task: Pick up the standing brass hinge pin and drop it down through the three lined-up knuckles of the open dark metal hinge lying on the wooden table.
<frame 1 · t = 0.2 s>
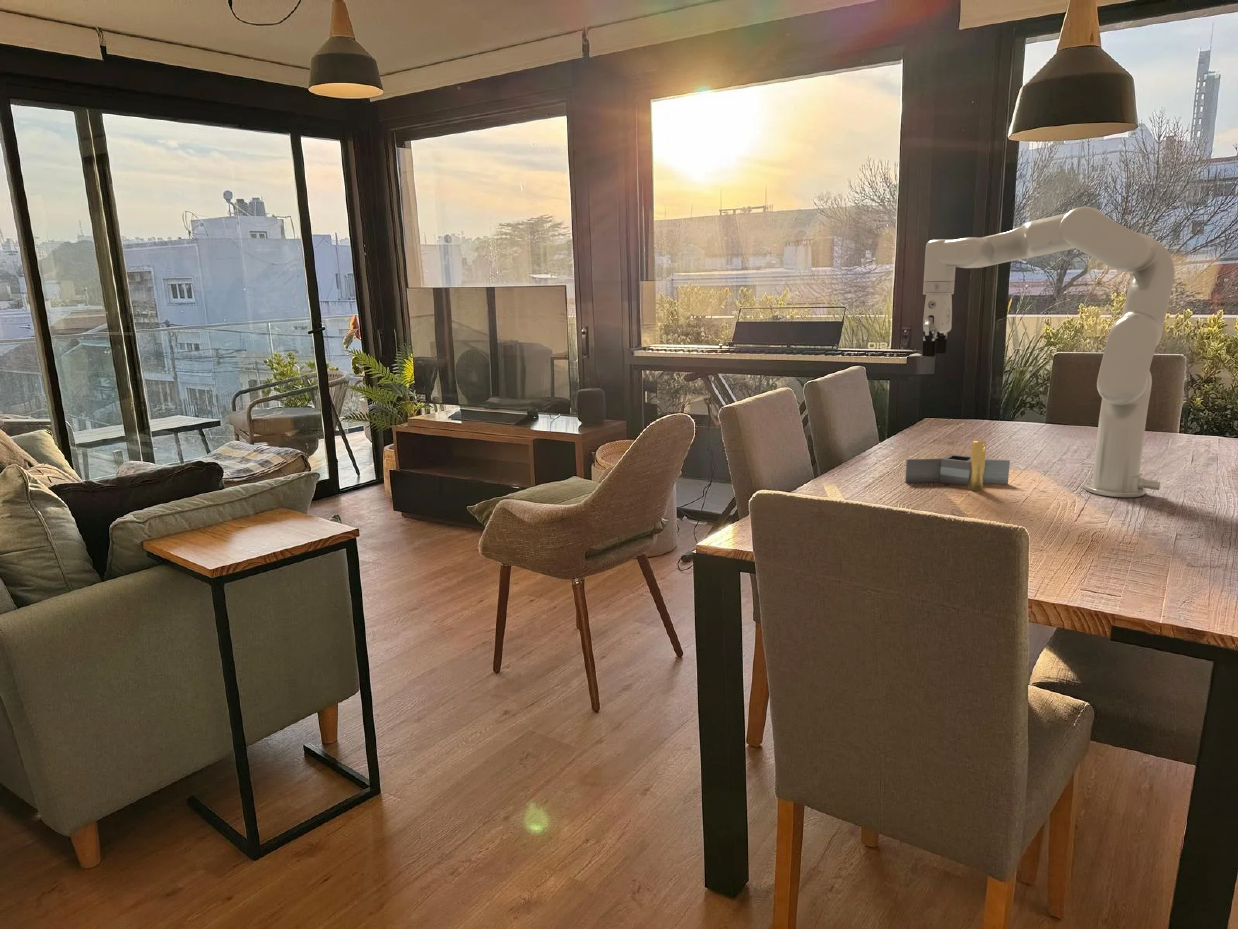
hand: (934, 354, 222), 31 cm above the table, tool pointing down, fingers open, 9 cm apart
hinge pin: (975, 489, 205), on the table
hinge: (958, 481, 214), on the table
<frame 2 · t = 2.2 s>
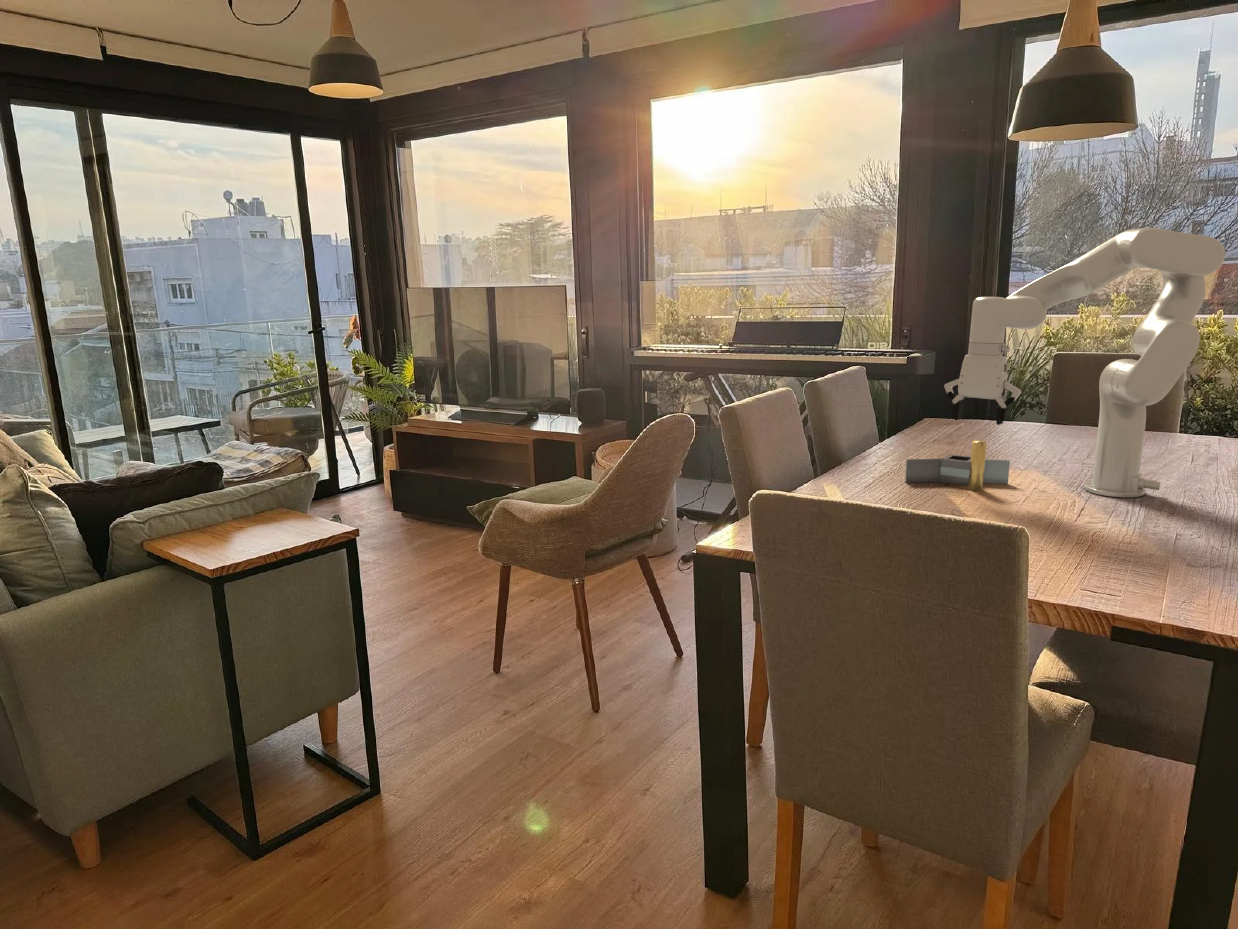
hand: (978, 421, 202), 17 cm above the table, tool pointing down, fingers open, 9 cm apart
nothing on the table moved.
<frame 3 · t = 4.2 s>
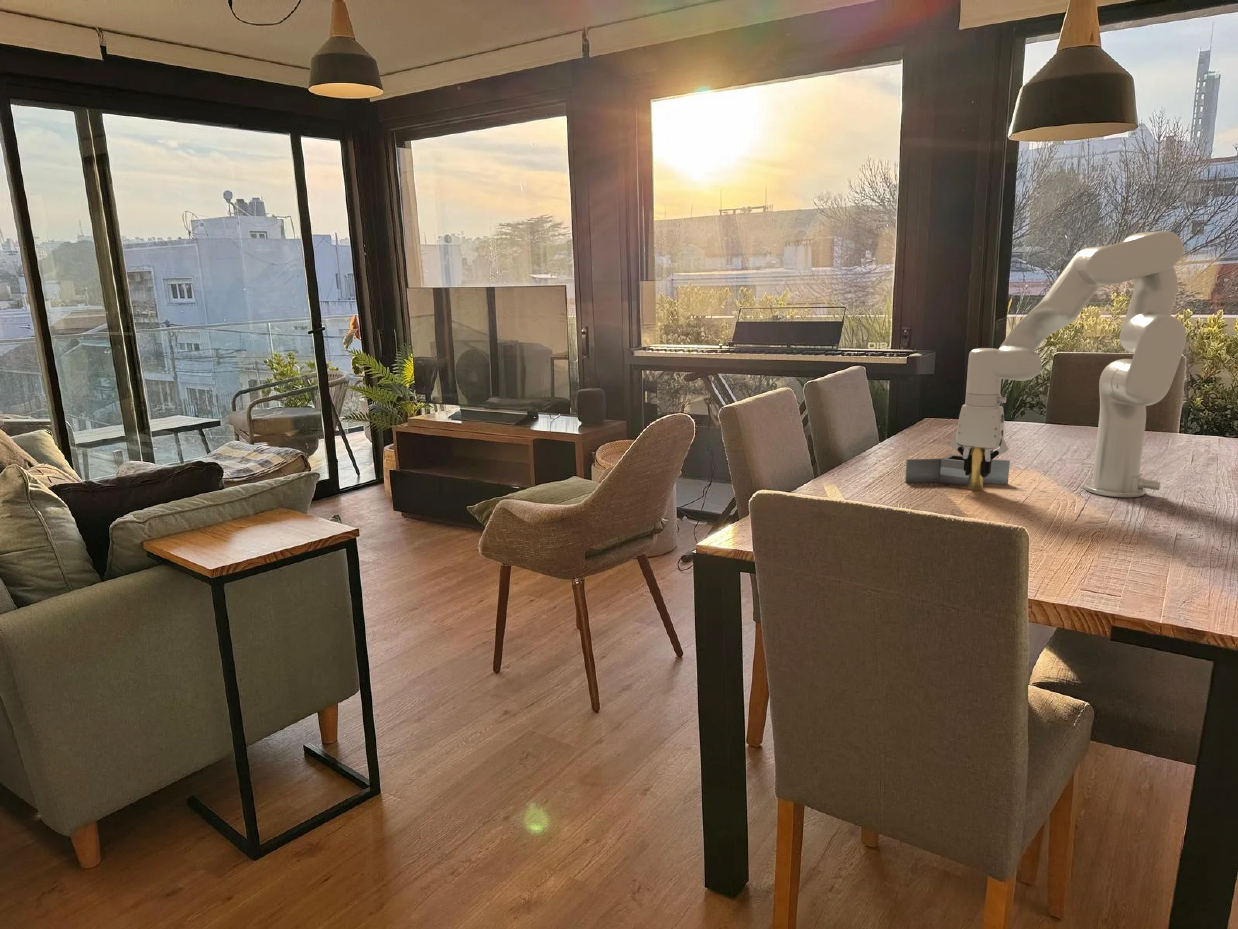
hand: (976, 474, 204), 4 cm above the table, tool pointing down, fingers closed on hinge pin, 3 cm apart
hinge pin: (975, 489, 205), on the table, touching gripper
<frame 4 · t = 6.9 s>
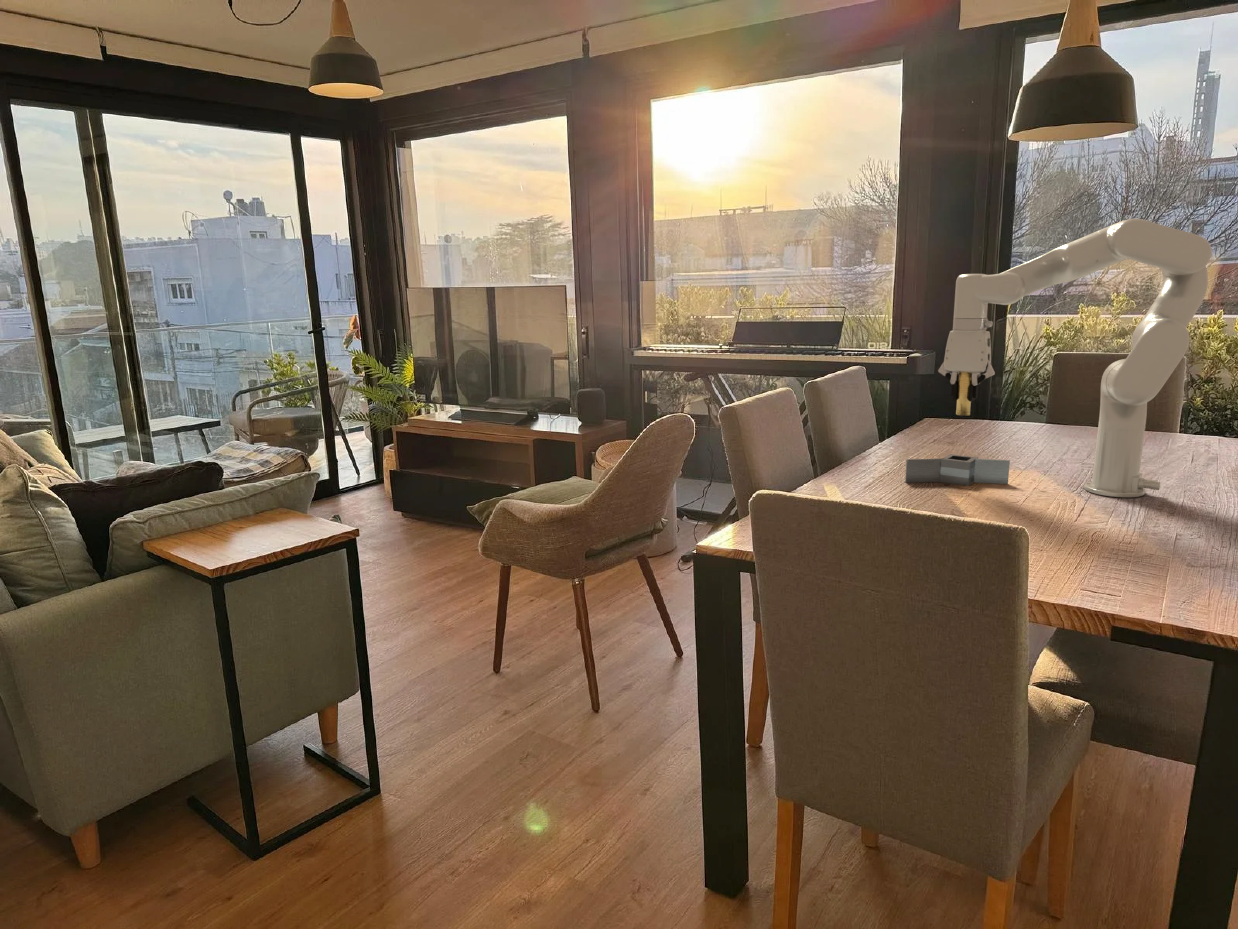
hand: (964, 399, 209), 21 cm above the table, tool pointing down, fingers closed on hinge pin, 3 cm apart
hinge pin: (962, 414, 210), point 17 cm above the table, touching gripper
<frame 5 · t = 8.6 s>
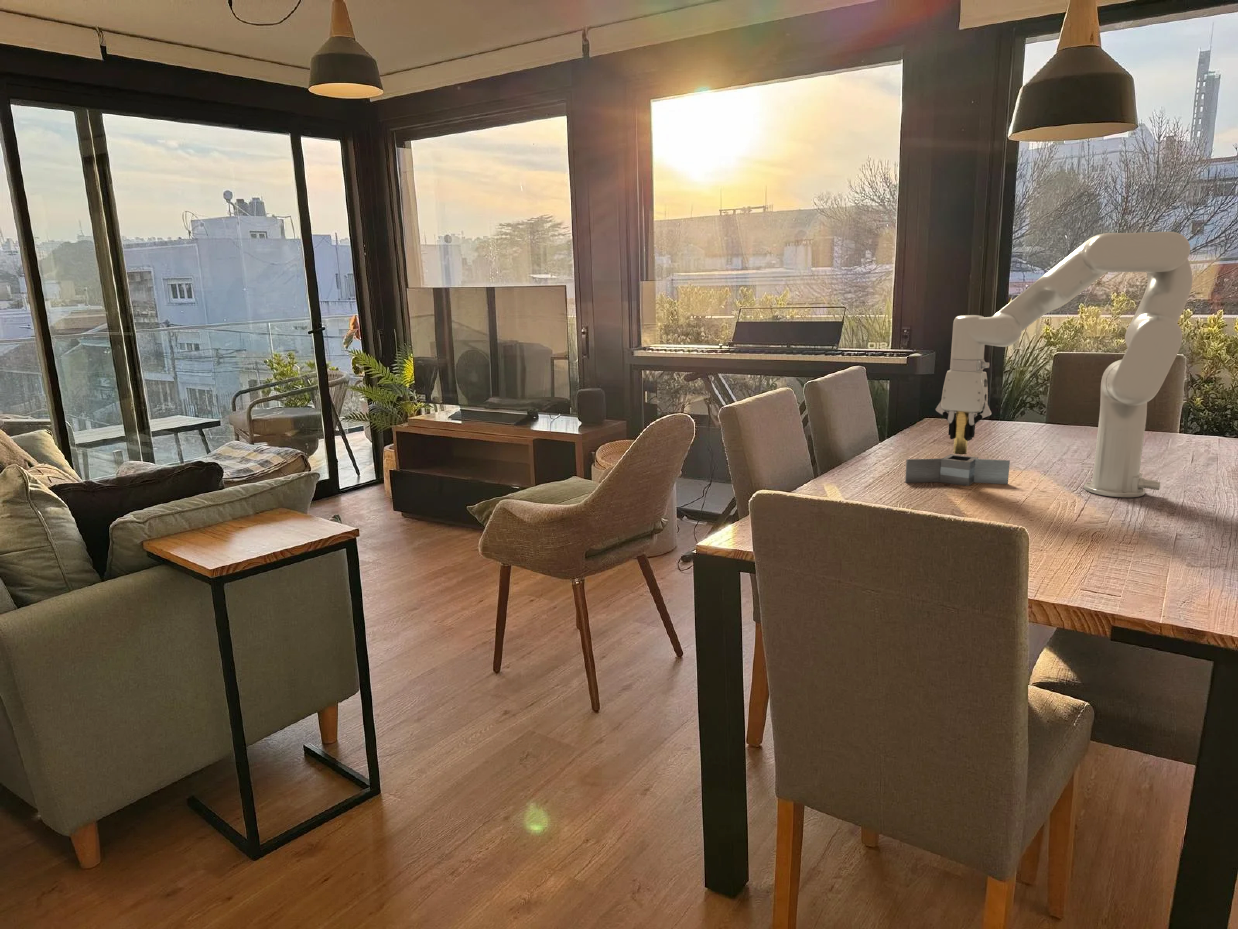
hand: (961, 438, 211), 11 cm above the table, tool pointing down, fingers closed on hinge pin, 3 cm apart
hinge pin: (959, 453, 212), point 7 cm above the table, touching gripper
when the fingers open (11 cm above the table, at t = 9.8 s): hinge pin drops 7 cm, resting in hinge.
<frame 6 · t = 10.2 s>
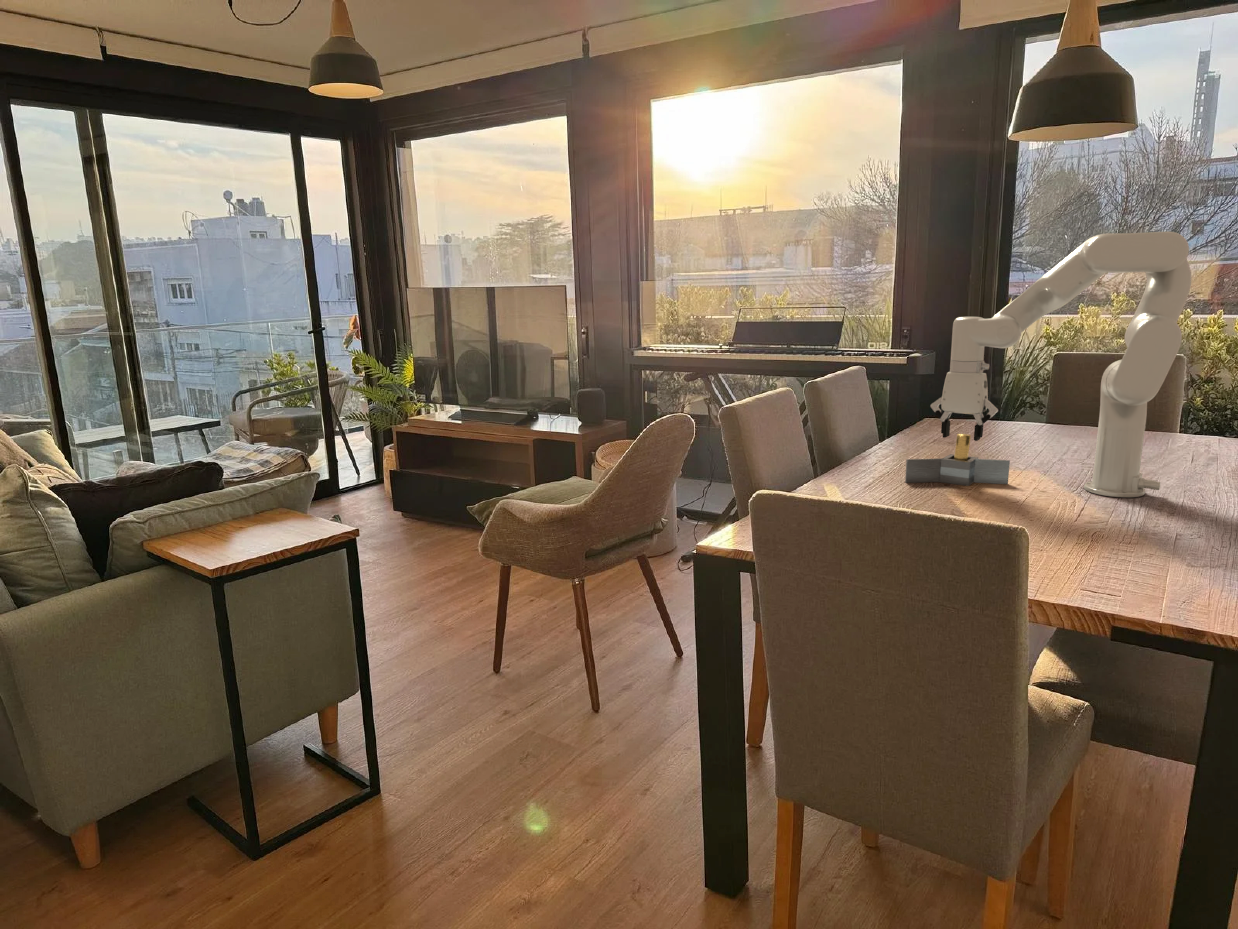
hand: (961, 437, 211), 11 cm above the table, tool pointing down, fingers open, 7 cm apart
hinge pin: (957, 480, 214), resting in hinge
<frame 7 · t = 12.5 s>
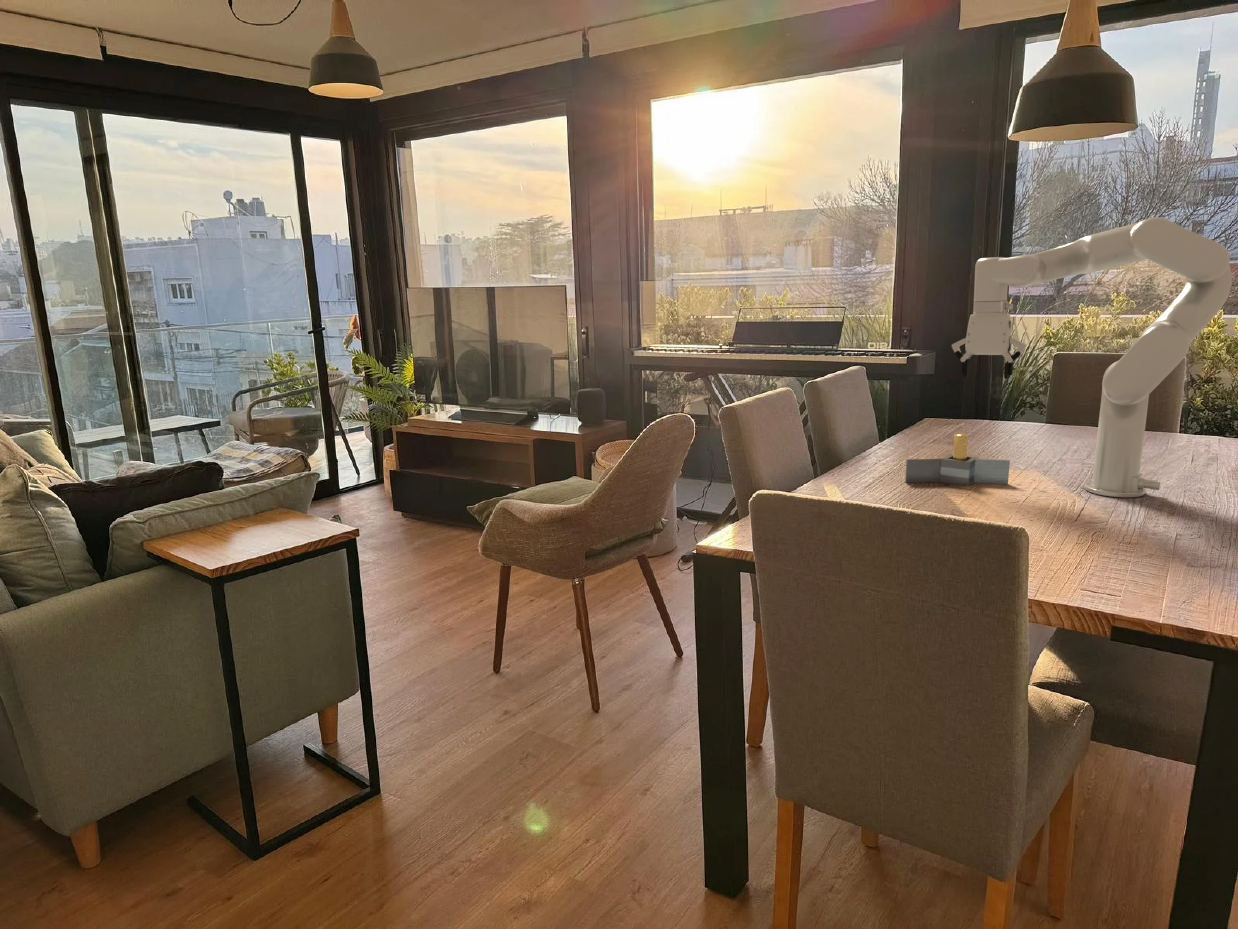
hand: (986, 377, 211), 26 cm above the table, tool pointing down, fingers open, 9 cm apart
nothing on the table moved.
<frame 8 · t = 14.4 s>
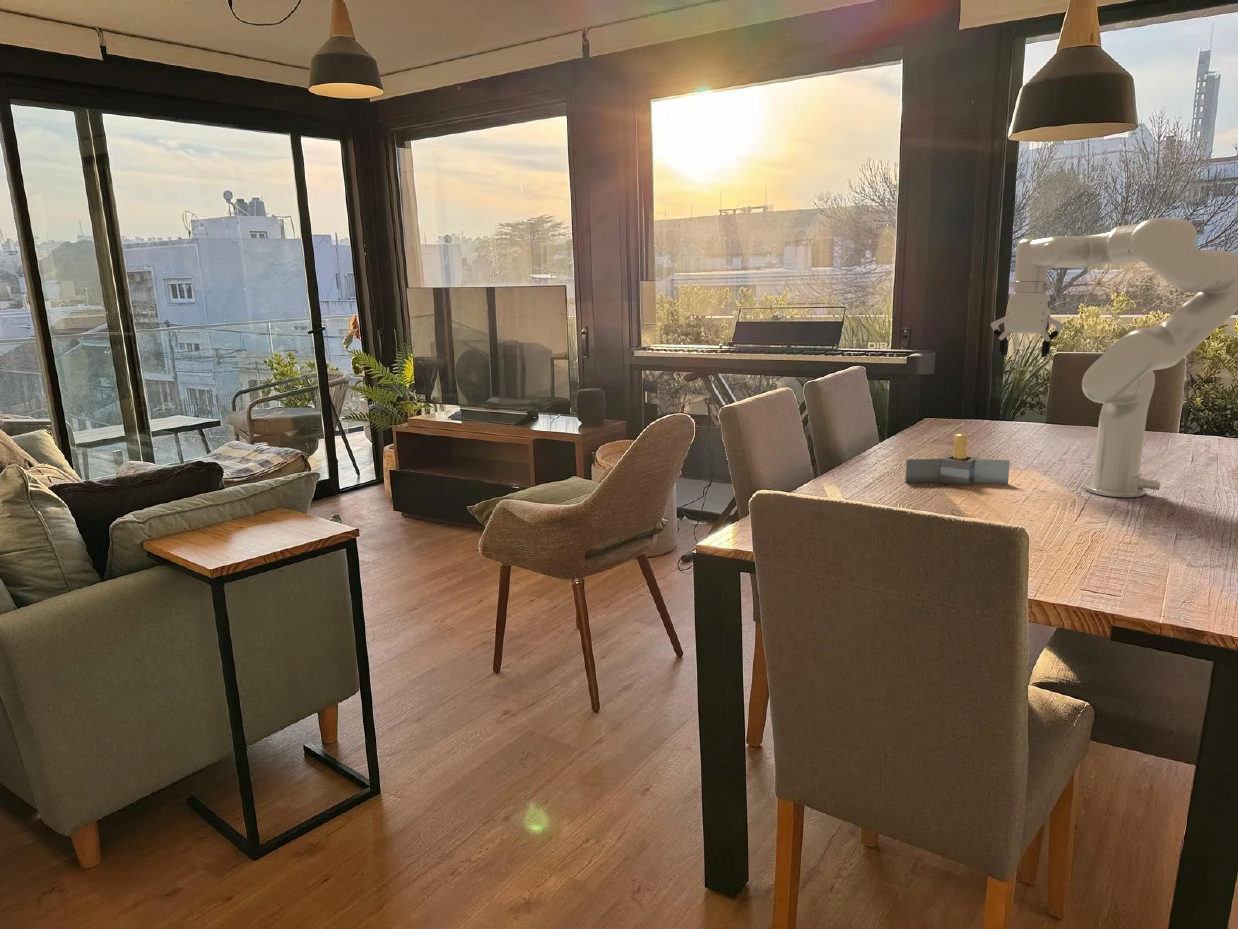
hand: (1023, 355, 218), 30 cm above the table, tool pointing down, fingers open, 9 cm apart
nothing on the table moved.
at the end: hinge pin 0.1 cm off-centre on the hinge, point 0.0 cm above the hinge's base; hinge pin tilted 0°; the gripper is holding nothing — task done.
